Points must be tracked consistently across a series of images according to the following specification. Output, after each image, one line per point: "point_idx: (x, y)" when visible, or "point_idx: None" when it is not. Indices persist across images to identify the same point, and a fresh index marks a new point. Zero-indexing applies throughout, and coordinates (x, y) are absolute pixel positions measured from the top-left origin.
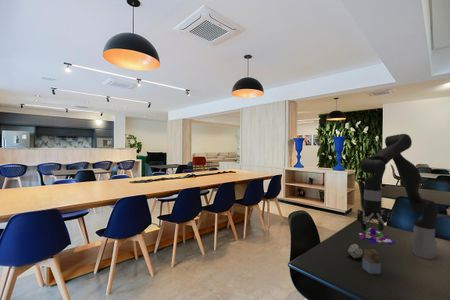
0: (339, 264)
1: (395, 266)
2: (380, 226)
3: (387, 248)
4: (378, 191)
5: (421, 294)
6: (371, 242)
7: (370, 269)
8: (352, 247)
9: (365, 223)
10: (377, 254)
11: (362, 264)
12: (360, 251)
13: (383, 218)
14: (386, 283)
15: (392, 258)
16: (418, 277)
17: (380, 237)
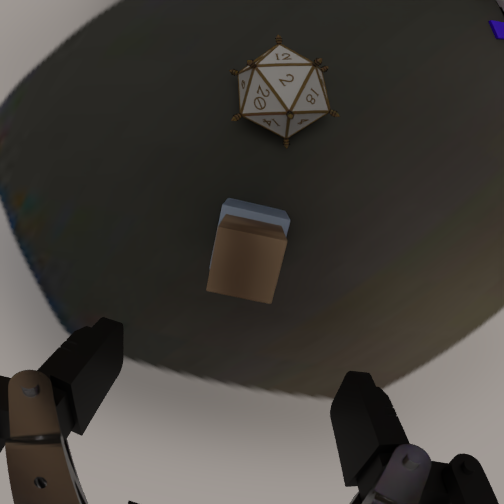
0: (132, 148)
1: (409, 230)
2: (345, 439)
3: None
4: None
5: (289, 391)
6: (493, 31)
7: None
8: (252, 88)
9: (65, 438)
10: (257, 298)
11: (226, 200)
12: (286, 127)
13: (465, 496)
14: (225, 326)
15: (464, 169)
16: (402, 318)
17: None
